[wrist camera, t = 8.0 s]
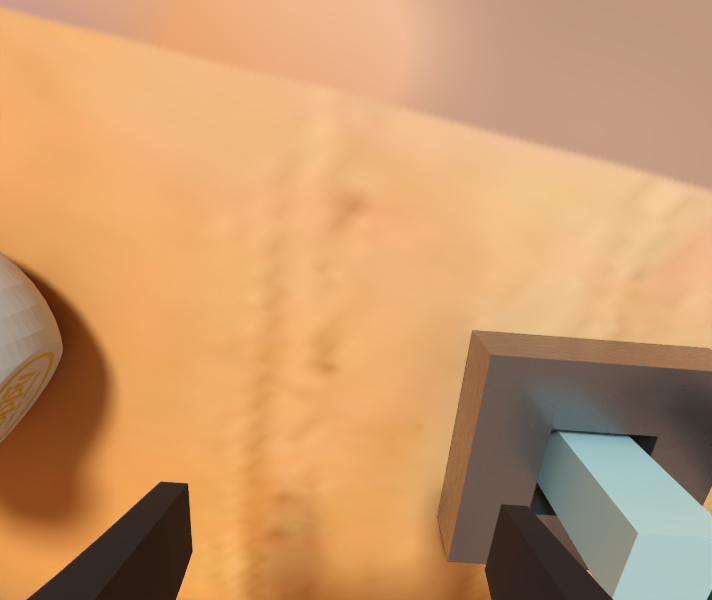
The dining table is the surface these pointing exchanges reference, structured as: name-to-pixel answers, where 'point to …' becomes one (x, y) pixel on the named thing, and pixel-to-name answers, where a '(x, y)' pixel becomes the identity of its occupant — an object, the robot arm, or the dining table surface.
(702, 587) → the plug
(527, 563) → the robot arm
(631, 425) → the port block
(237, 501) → the dining table surface
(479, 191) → the dining table surface
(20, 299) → the air freshener
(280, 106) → the dining table surface
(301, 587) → the dining table surface
